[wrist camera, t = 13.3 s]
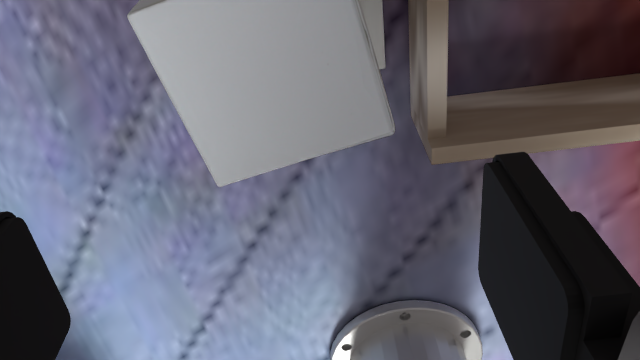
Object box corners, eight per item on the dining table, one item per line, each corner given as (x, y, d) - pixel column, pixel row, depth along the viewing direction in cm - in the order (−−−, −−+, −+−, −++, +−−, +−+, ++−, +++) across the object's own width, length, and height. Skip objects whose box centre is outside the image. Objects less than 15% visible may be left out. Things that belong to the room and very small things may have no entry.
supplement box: (184, -61, 28) (116, 7, 17) (323, -112, 27) (344, -75, 16) (240, 71, 31) (213, 193, 21) (363, 30, 30) (402, 136, 20)
